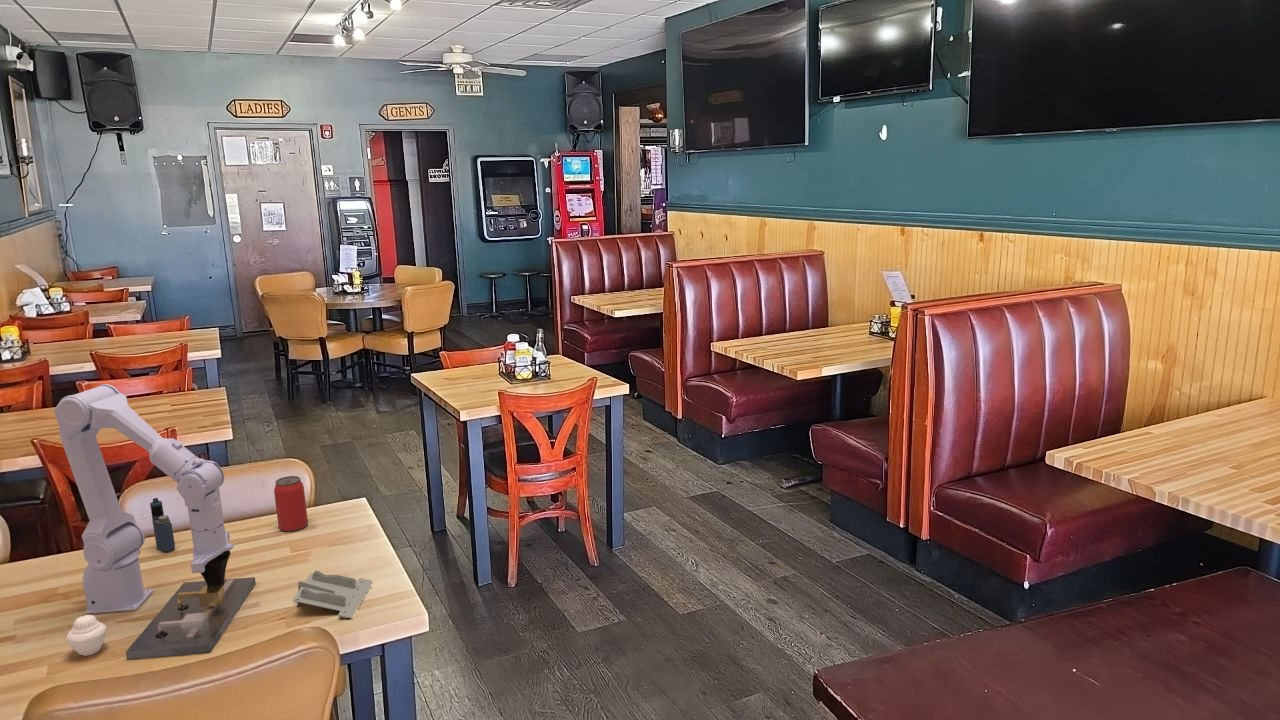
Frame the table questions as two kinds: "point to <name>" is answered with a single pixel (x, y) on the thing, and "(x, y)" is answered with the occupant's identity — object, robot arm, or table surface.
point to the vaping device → (162, 527)
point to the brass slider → (205, 596)
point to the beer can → (290, 503)
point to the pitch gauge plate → (174, 615)
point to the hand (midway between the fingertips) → (216, 590)
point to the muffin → (87, 635)
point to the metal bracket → (332, 592)
